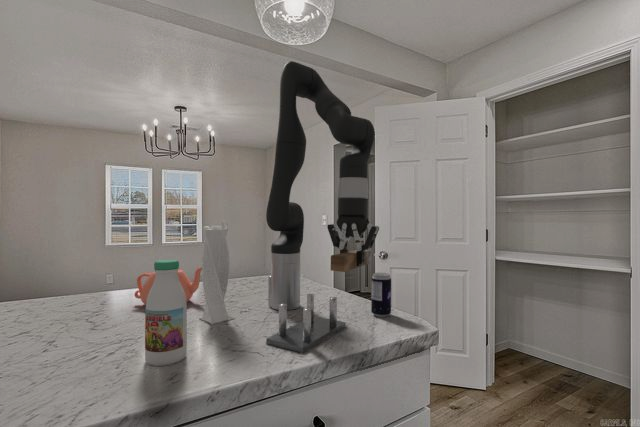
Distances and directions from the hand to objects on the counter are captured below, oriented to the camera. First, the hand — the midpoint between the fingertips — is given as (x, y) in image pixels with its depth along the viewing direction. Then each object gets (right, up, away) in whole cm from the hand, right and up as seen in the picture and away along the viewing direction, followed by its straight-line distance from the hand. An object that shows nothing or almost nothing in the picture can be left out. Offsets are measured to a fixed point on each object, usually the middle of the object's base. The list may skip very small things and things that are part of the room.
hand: (352, 264), depth 86 cm
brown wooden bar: (0, 0, 0) cm, 0 cm away
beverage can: (+10, -17, +14) cm, 24 cm away
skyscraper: (-37, -17, +9) cm, 42 cm away
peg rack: (-11, -17, -2) cm, 20 cm away
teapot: (-57, -17, +26) cm, 65 cm away
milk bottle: (-39, -17, -17) cm, 46 cm away
